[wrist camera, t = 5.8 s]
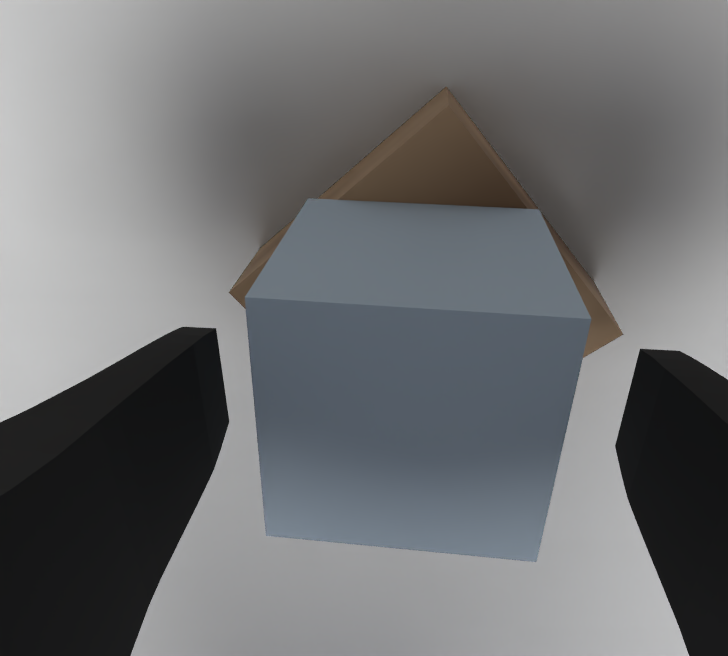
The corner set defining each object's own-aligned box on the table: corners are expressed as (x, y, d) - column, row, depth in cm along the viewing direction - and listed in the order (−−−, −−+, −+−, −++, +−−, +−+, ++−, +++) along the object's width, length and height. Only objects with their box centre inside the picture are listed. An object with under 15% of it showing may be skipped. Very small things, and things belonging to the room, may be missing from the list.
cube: (538, 209, 12) (590, 318, 8) (508, 400, 14) (536, 562, 10) (308, 198, 12) (244, 297, 8) (313, 385, 14) (266, 535, 10)
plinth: (590, 276, 15) (623, 334, 13) (407, 394, 18) (403, 463, 15) (446, 84, 13) (448, 105, 11) (263, 243, 16) (228, 292, 13)
